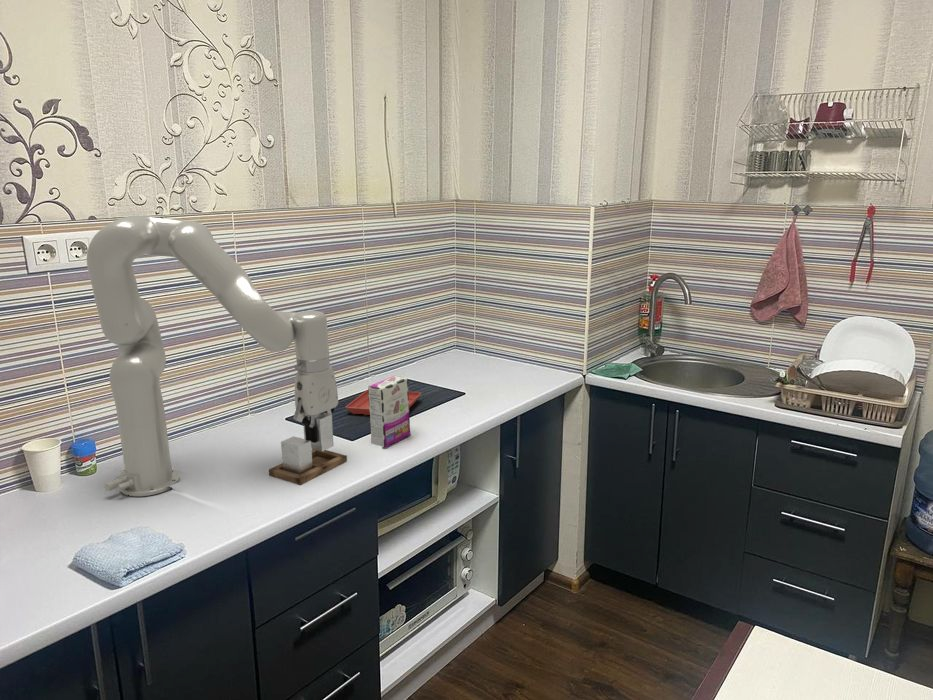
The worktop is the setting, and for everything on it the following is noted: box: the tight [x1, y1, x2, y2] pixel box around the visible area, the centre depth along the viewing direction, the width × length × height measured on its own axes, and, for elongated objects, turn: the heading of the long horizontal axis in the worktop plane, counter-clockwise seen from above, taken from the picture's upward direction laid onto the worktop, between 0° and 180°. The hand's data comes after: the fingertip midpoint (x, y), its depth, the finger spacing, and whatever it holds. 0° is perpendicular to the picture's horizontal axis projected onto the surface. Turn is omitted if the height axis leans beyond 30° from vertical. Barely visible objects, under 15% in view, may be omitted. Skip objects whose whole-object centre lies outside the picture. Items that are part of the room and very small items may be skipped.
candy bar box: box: [367, 375, 411, 449], centre depth 180 cm, size 11×5×16 cm, turn 148°
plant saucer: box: [345, 389, 422, 416], centre depth 207 cm, size 18×18×3 cm
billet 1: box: [280, 436, 313, 475], centre depth 158 cm, size 4×6×8 cm
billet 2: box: [302, 413, 335, 451], centre depth 163 cm, size 4×6×8 cm
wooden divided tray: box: [268, 449, 348, 486], centre depth 162 cm, size 16×10×2 cm, turn 148°
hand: (318, 437), depth 163 cm, fingers closed on billet 2, 4 cm apart
